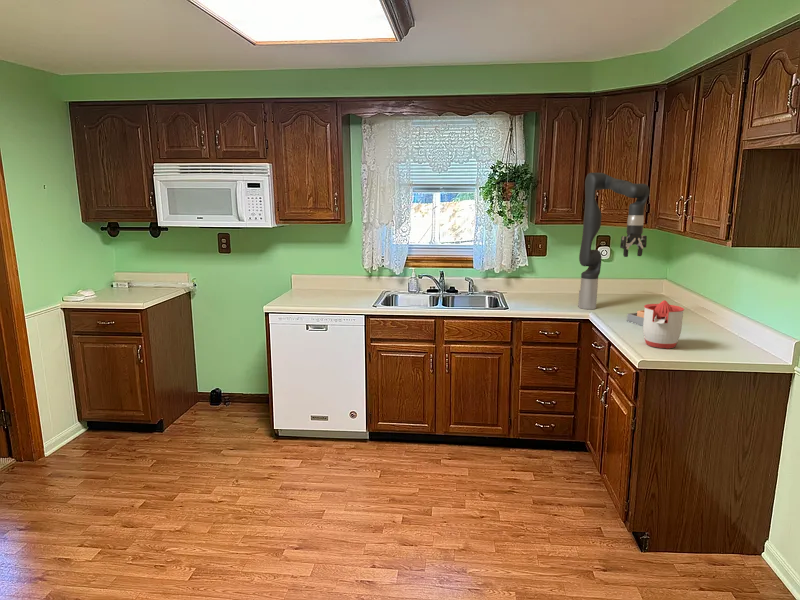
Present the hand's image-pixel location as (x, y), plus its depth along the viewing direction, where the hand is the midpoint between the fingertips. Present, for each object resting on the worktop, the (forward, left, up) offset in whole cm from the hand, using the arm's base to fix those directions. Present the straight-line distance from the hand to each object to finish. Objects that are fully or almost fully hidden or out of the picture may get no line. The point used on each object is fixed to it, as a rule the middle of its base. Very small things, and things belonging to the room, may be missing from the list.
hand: (632, 256), depth 284 cm
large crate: (+8, +5, -33) cm, 34 cm away
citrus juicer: (+44, -21, -33) cm, 59 cm away
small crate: (+8, +5, -32) cm, 34 cm away
